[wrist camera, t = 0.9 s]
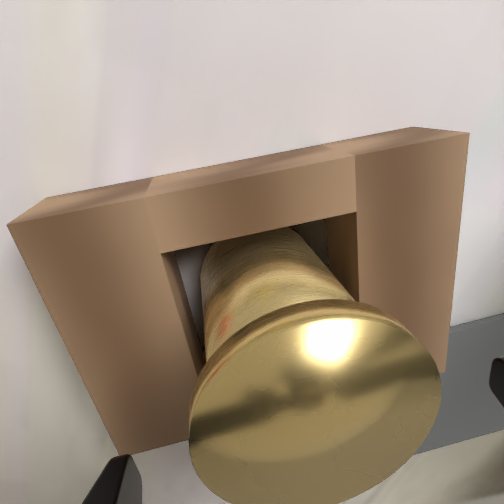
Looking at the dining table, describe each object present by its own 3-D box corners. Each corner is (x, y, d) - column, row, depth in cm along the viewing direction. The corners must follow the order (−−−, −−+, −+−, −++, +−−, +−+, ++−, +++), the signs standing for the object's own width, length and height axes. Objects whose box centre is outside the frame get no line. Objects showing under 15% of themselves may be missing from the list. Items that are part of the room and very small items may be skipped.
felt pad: (551, 301, 19) (559, 305, 18) (523, 416, 22) (528, 422, 22) (396, 340, 18) (400, 345, 17) (393, 453, 22) (397, 459, 21)
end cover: (319, 195, 14) (451, 290, 7) (328, 316, 17) (433, 475, 9) (172, 226, 13) (155, 361, 6) (205, 345, 16) (219, 538, 9)
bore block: (412, 126, 14) (469, 132, 11) (405, 330, 18) (445, 371, 15) (46, 197, 12) (6, 224, 10) (131, 399, 16) (120, 457, 14)
